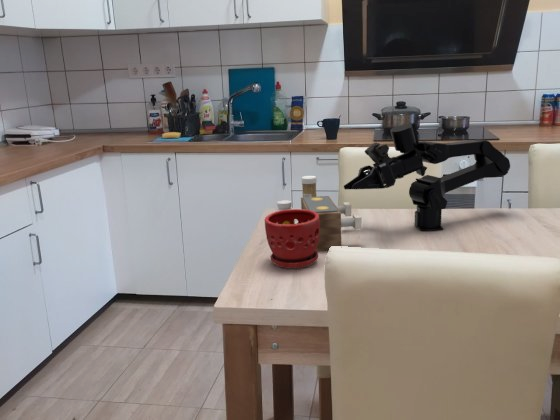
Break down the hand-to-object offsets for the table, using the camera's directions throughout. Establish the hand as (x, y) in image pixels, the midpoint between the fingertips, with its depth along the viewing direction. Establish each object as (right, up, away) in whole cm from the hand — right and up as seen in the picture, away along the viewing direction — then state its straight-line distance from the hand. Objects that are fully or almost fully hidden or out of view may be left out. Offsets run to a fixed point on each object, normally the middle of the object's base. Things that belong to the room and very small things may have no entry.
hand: (348, 187), depth 144 cm
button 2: (-2, -11, -4) cm, 12 cm away
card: (-8, -5, 0) cm, 9 cm away
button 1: (-3, -8, +8) cm, 12 cm away
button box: (-7, -14, +3) cm, 16 cm away
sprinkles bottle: (-9, -9, +24) cm, 27 cm away
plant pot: (-15, -19, -13) cm, 28 cm away
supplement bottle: (-17, -13, +9) cm, 23 cm away
